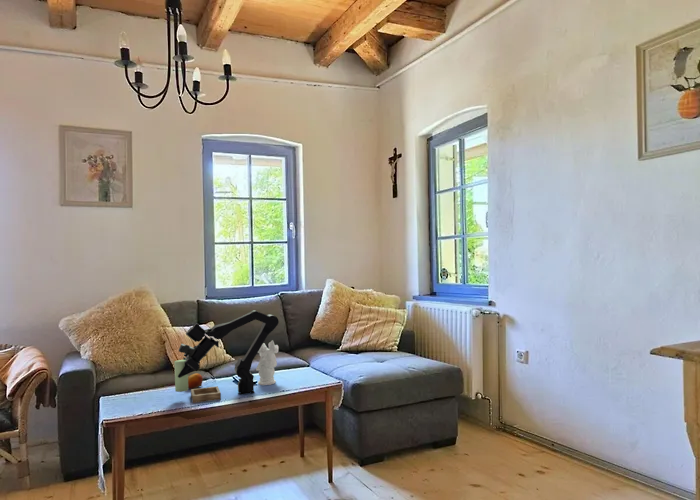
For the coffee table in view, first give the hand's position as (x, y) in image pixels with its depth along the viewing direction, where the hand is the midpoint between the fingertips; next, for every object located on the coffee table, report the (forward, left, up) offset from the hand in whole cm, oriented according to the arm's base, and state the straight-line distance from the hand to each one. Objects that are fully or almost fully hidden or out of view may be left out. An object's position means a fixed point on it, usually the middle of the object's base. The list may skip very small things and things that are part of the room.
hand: (178, 375), depth 229 cm
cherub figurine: (-44, -13, -11) cm, 47 cm away
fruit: (-8, -20, -11) cm, 24 cm away
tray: (-12, 0, -11) cm, 16 cm away
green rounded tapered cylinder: (-1, 0, -7) cm, 7 cm away
